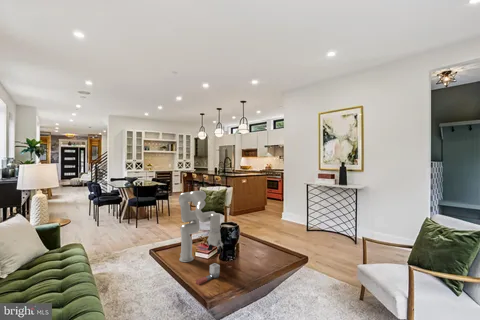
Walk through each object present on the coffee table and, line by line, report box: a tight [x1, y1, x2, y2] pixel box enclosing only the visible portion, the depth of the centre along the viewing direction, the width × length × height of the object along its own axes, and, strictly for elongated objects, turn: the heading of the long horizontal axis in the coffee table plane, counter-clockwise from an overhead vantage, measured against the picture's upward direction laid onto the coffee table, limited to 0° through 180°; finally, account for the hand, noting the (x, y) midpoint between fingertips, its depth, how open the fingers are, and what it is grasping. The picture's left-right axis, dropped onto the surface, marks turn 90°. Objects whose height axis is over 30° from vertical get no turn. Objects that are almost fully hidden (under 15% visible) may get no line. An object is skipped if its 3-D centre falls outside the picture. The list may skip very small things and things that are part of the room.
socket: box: [209, 262, 221, 275], centre depth 190 cm, size 5×5×6 cm
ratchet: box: [195, 265, 220, 286], centre depth 186 cm, size 7×20×8 cm, turn 137°
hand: (214, 252), depth 191 cm, fingers open, 9 cm apart
